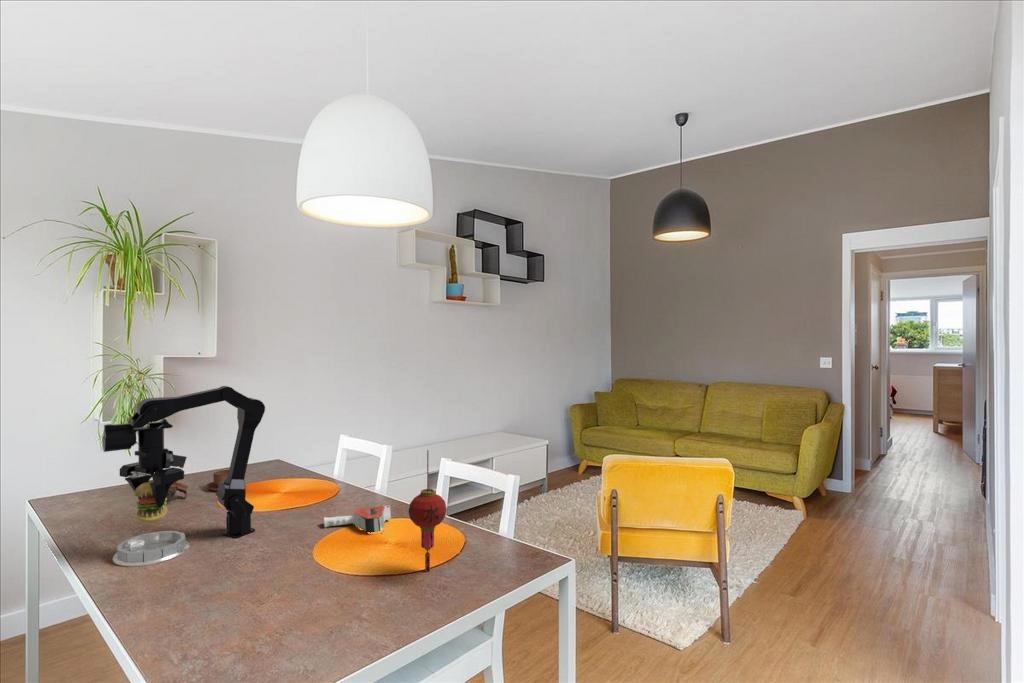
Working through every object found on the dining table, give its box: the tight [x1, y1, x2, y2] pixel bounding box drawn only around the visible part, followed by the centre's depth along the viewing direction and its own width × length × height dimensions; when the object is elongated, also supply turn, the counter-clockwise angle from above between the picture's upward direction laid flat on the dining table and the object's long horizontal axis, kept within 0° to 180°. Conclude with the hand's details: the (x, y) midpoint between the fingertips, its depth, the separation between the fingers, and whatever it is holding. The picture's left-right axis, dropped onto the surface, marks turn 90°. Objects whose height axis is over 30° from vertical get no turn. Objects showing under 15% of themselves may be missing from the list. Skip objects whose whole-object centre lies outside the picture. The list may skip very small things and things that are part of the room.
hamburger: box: [133, 476, 168, 524], centre depth 145 cm, size 8×7×12 cm
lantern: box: [408, 450, 448, 573], centre depth 135 cm, size 10×10×30 cm
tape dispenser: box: [322, 504, 392, 533], centre depth 167 cm, size 18×5×20 cm
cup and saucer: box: [205, 469, 229, 492], centre depth 206 cm, size 12×12×6 cm
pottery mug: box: [166, 481, 188, 503], centre depth 190 cm, size 12×10×8 cm
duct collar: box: [112, 530, 190, 568], centre depth 146 cm, size 17×17×3 cm
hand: (152, 504), depth 145 cm, fingers closed on hamburger, 7 cm apart
